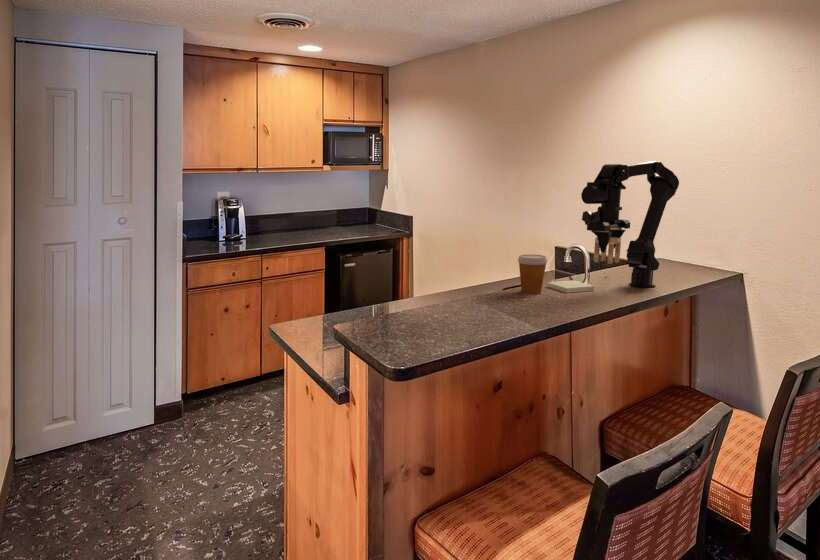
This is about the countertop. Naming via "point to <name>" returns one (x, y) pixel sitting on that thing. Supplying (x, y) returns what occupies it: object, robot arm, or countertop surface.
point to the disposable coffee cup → (532, 273)
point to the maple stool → (610, 250)
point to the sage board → (570, 286)
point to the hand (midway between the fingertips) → (607, 251)
